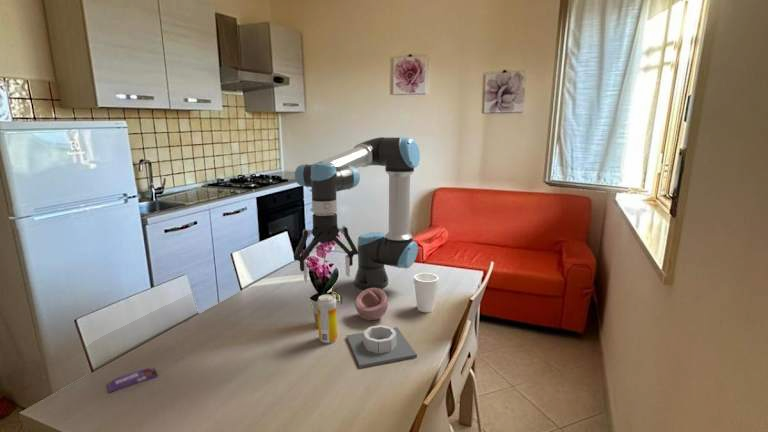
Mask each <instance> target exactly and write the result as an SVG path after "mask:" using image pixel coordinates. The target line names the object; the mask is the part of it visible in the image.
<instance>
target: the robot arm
mask: <svg viewBox="0 0 768 432" xmlns="http://www.w3.org/2000/svg"><path fill="white" fill-rule="evenodd" d="M420 154H421V152H420V148H419V145H418V144H417V142H416V140H415V139H413V138H410V137H404V136H402V137H382V136H381V137H376V138H372V139H368V140H365V141H362V142H360V143H358V144H356V145H354V147H353V148H352V149H349V150H347V151H344V152H341V153H338V154H336V155H334V156H331V157H328V158H326V159H323V160H320V161H318V162H314V163H312V164H307V163H306V164H299V165H298V166H296V169H295V171H294V179H295V180H294V181H295V182H296V184H297V185H298V186H302V187H305V188H311V208H312V209H311V210H312V211H311V212H312V213H313V214H312V229H306V228H303V230H302V236H301V239H300V240H299V243H298V245H297V247H296V250H295V251H294V254H293V260H294V261H298V262H299V269H300V272H303V280H304V282H305V283H307V282H308V265H307V258H308V256H309V255H310V254H311V252H313V250H314V249H315V247H316V246H317V245H318V244H319V243H321V244H325V243H332V242H333V241H334V242H335V243H336V244H337V245H338V246H339V247H340V248H341V249H342V250H343V252H345V254H346V255H344V257H345V258H344V259H345V260H344V261H345V275H346V276H347V278H350V277H351V272H350V271H351V269H350V267H353V265H354V264H353V257H354V255H355V256H356V255H357V260H358V261H357V265H358V266H357V271H356V274H355V277H354V286H355V287H357V288H358V289H360V290H361V289H362V290H366V289H368V288H379V289H381V290H382V289H385V288H386V287H387V286H388V284H389V278H388V277H389V276H388V274H387V271H386V268H385V266H390V267H395V268H398V269H409V268H411V267H412V266H413V265H414V263H415V261H416V258H417V256H418V252H419V248H418V243H417V242H415V241H414V240H413V239H414V238H413V235H412V233H410V204H411V203H410V202H411V201H410V199H411V198H410V197H411V196H410V195H411V176H412V174H413V173H414V172H415V168H417V167H418V165H419V164H420V159H421V155H420ZM369 166H381V167H384V168H385V169H384V170H385V172H386V174H388V232H387V233H386V234H384V232H382V231H372V232H366V233H363V234H360V236H358V239H357V247H356V246H355V244H354V242H353V240H352V238H351V237H350V235H349V229H348V227H347V226H346V225H342V227H338V213H337V211H338V206H337V205H338V203H337V202H338V201H337V192H341V191H347V190H350V189H353V188H355V187H357V186H358V185H359V183H360V180H361V176H360V172H359V170H358V168H367V167H369ZM339 233H341V234H342V235H343V236H344V238H345V240H346V242H347V243H348V245H349V247H350V249H351V250H350V249H348V247H347V246H346V245H345V243H343V242H342V241H341V240H340V239H339V238H338V237H337V236H338V234H339ZM311 235H312V236H313V238H312V240H311V242H309V244H308V245H307V247H306V248H305V249H304V247H305V245H306V243H307V240H308V238H310V236H311ZM303 249H304V250H303Z"/></svg>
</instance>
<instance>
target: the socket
mask: <svg viewBox="0 0 768 432" xmlns="http://www.w3.org/2000/svg"><path fill="white" fill-rule="evenodd" d="M346 340H347V342H348V345H349V346H350V350H351V351H352V353H353V356H354V358H355V360H356V362H357V364H358V368H359V369H363V368H369V367H373V366H379V365H384V364H389V363H394V362H395V363H396V362H400V361H405V360H411V359H416V358H417V357H418V354H417V353H416V352H415V350H414V349H413V347H412V346H411V345H410V343H409V342H408V340H407V339H406V337H405V336H404V335H403V333H402V332H401V330H400V329H399V328H398V326H396V327H391V326H387V325H384V324H383V325H381V324H380V325H379V324H378V325H372V326H369V327H367V329H366V330H364V331H363V332H360V333H359V332H358V333H353V334H347V335H346Z"/></svg>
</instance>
